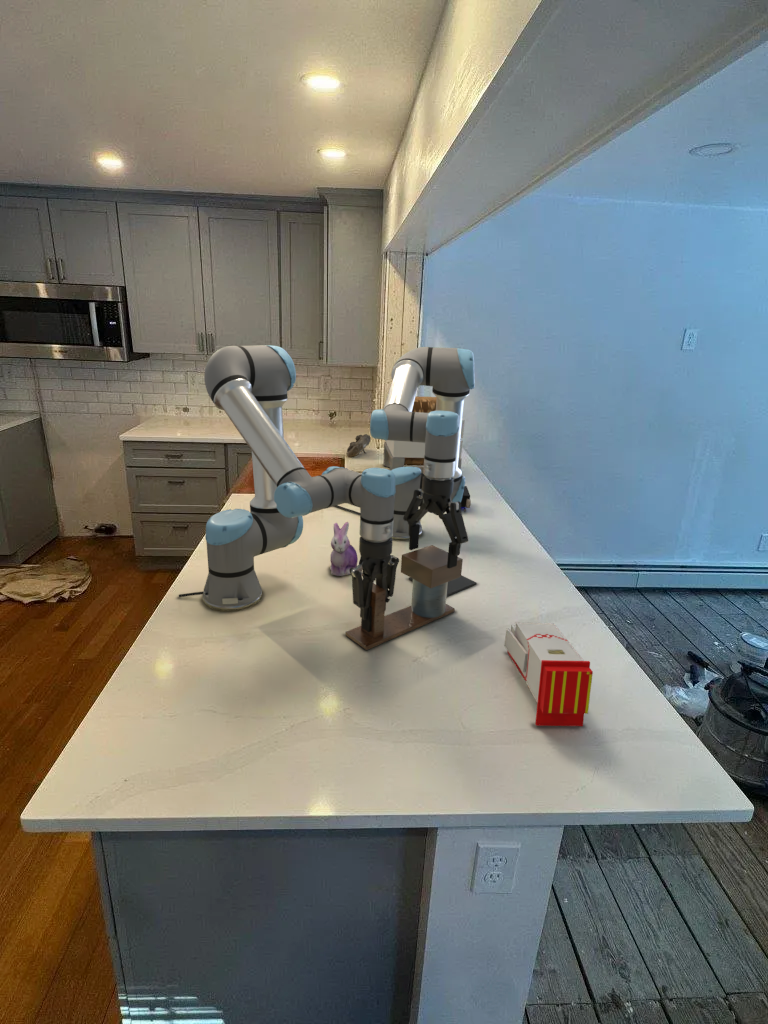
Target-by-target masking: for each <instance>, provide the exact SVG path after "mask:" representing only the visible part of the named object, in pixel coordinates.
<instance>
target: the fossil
mask: <svg viewBox="0 0 768 1024" xmlns="http://www.w3.org/2000/svg"><path fill="white" fill-rule="evenodd" d="M354 440H355V441H351V442H350V443H349V446H348V447H347V450H346V456H347V457H348V458H352V457H355V456H357V455H359V454H360V453H361V452H363V453H364V454H366V452H365V449H366V448H367V446H369V445H370V443H371V440H372V439H371V434H367V433H365V434H358V435H356V436H355V438H354Z"/></svg>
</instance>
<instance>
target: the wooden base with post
mask: <svg viewBox="0 0 768 1024" xmlns="http://www.w3.org/2000/svg"><path fill="white" fill-rule="evenodd" d="M447 585H448V582H446V583H444V584H441V585H438V586H436V587H433V588H429V587H427V586H425V585H423V584H422V583H420V582H418V581H416V580H414V579H413V581H412V586H411V598H410V599H411V601H410V605H408V606H407V607H404V608H402V609H399V610H396V611H394V612H391V613H389V614H387V615H386V614H385V613H386V610H385V595H386V590H385V589H383V588H381V587H379V586H378V585H376V583H374V582H373V588H372V594H371V600H370V606H371V607H372V623H371V632H367V631H366V630H365V629H363V628H362V618H361V617H360V619H361V620H360V626H357V627H354V628H352V629H349V630H347V631H345V636H346V637H347V638H349V639H350V640H351V641H352V642H354V643H355V644H357V645H358V646H359V647H361V648H362V649H364V650H365V651H368V650H371V649H372V648H374V647H377V646H380V645H382V644H384V643H386V642H388V641H390V640H393V639H395V638H398V637H400V636H403V635H404V634H406V633H407V634H408V633H410V632H411V631H413V630H416V629H418V628H421V627H423V626H425V625H427V624H430V623H432V622H434V621H437V620H439V619H441V618H443V617H446V616H447V615H451V614H453V613H454V612H455V607H453V606H452V605H449V604H448V603H447V597H448V596H447ZM446 596H447V597H446Z"/></svg>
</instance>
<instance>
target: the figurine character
mask: <svg viewBox="0 0 768 1024" xmlns="http://www.w3.org/2000/svg"><path fill="white" fill-rule="evenodd" d="M471 501H472V500H471V494H470V491H469V488H468V486H467V485H465V486H464V492H463V496H462V500H461V510H463V511H464V513H466V512H467V509H470V508H471V505H472V504H471ZM466 508H467V509H466Z"/></svg>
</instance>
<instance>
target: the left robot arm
mask: <svg viewBox="0 0 768 1024" xmlns="http://www.w3.org/2000/svg"><path fill="white" fill-rule="evenodd" d="M203 375H204V379H203V380H204V386H205V389H206V392H207V394H208V396H209V398H210V400H211V401H212V404H214V406H215V408H217V409H218V410H220V411H224V412H225V414H226V416H227V418H228V419H229V420H230V422H231V423H232V424H233V426H234V427H235V429H236V430H237V432H238V433H239V435H240V436H241V438H242V439H243V440H244V442H245V444H246V445H247V446H248V448H249V449H250V451H251V462H252V474H253V475H252V476H253V487H254V488H253V489H254V497H253V498H252V499H251V500H250V501H249V510H248V509H244V508H233V509H230V508H229V509H225V510H222V511H219V512H216V513H215V514H213V515H211V516H210V517H209V519H208V520H207V521H206V524H205V535H204V536H205V543H206V556H207V569H208V574H207V577H206V580H205V584H204V587H203V590H202V591H195V592H188V593H181V594H178V598H185V597H191V596H199V595H202V600H203V603H204V605H205V606H206V607H208V608H210V609H213V610H215V611H216V610H217V611H220V612H221V611H222V612H234V611H240V610H241V611H242V610H244V609H248V608H251V607H253V606H255V605H256V604H258V603H259V602H260V601H261V599H262V598H263V589H262V585H261V583H260V580H259V578H258V575H257V572H256V570H255V557H258V556H261V555H263V554H266V553H269V552H272V551H275V550H278V549H284V548H286V547H288V546H289V545H292V544H294V543H296V542H297V541H298V540H299V539H300V538H301V536H302V533H303V530H304V518H303V517H305V516H307V515H309V514H311V513H315V512H318V511H322V510H325V509H329V508H333V507H335V506H336V505H338V506H340V505H343V504H348V505H351V506H354V507H357V508H359V509H360V510H359V513H360V515H359V516H360V517H359V536H360V537H359V541H358V543H359V544H358V545H359V546H358V551H359V555H360V558H359V561H358V564H357V567H355V568H350V570H349V572H350V574H349V575H350V576H351V588H352V604H353V605H354V606H356V607H358V608H359V617H360V619H361V618H362V628H363V629H365V630H366V631H367V632H371V623H372V607H371V606H370V600H371V594H372V588H373V583H374V582H375V584H376V585H378V586H379V587H381V588H383V589H385V590H386V595H385V611H386V609H387V604H388V603H389V602H390V601H391V600H390V598H391V597H393V596H394V592H395V584H396V577H397V568H398V565H399V564H400V563H399V562H400V558H399V557H397V556H395V555H393V554H392V553H393V541H394V539H392V538H391V537H392V535H393V518H394V516H393V514H394V501H395V493H396V489H395V475H394V473H393V472H392V471H390V469H388V468H381V467H369V468H366V469H364V470H363V471H362V472H361V473H360V472H358V471H355V470H352V469H348V468H347V467H344V466H336V465H332V466H329V467H327V468H326V470H324V471H322V473H321V474H320V475H315V476H311V475H310V473H309V471H308V470H307V469H306V468H305V466H304V464H303V463H302V462H301V460H299V458H298V457H297V455H296V454H295V452H294V451H293V449H292V448H291V446H290V445H289V443H288V442H287V441H286V439H285V434H284V433H285V432H284V416H283V406H284V404H285V403H287V401H288V399H289V398H288V392H289V391H290V390H292V389H293V388H294V386H295V383H296V381H297V371H296V366H295V363H294V361H293V359H292V357H291V355H289V353H288V352H287V350H285V348H283V347H281V346H278V345H268V344H261V345H260V344H258V345H257V344H255V345H227V346H223V347H221V348H219V349H217V350H216V351H215V352H214V353H213V354H212V355H211V356H209V358H208V361H207V362H206V365H205V368H204V374H203ZM389 597H390V598H389Z"/></svg>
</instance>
